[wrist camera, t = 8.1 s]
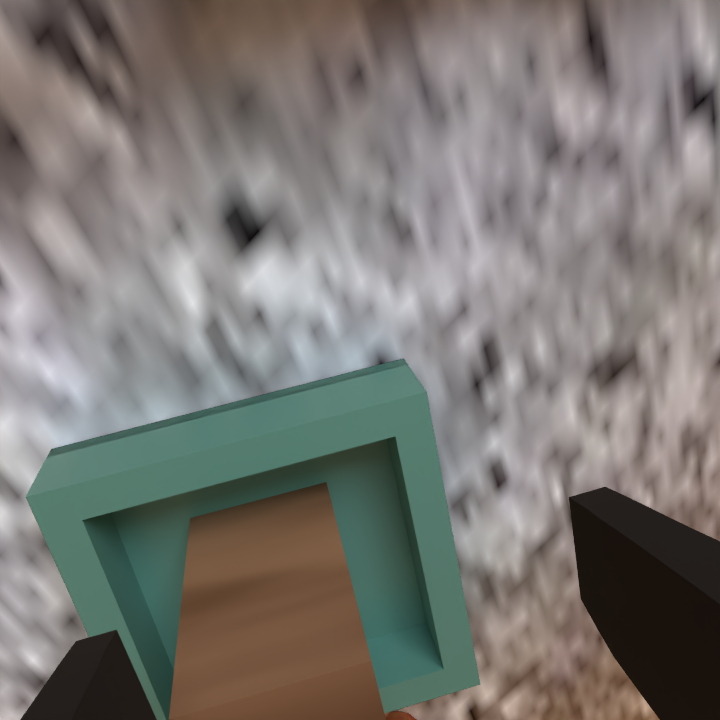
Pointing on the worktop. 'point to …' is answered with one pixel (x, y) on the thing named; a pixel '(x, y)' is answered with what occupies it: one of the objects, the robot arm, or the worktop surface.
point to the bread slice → (398, 716)
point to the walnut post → (271, 617)
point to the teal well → (258, 481)
